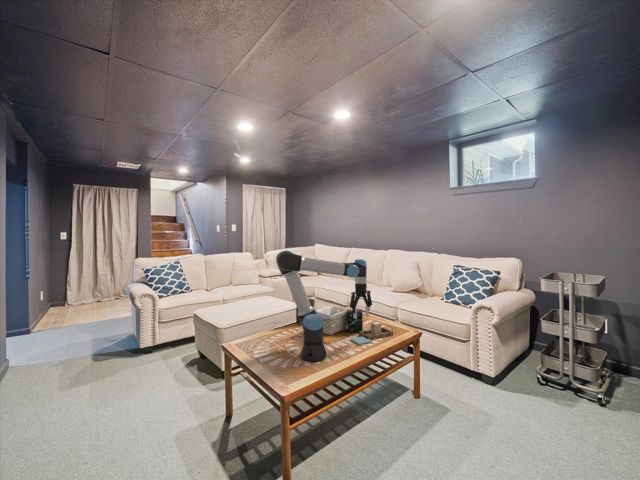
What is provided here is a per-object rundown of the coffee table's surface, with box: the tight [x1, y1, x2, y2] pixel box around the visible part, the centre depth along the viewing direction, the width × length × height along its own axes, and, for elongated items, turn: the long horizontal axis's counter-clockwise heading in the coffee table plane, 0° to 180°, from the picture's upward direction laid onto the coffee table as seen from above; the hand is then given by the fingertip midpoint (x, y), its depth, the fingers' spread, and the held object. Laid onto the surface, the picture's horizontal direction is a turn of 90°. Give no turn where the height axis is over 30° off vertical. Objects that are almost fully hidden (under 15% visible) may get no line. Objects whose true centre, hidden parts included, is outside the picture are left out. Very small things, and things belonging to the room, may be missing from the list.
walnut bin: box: [358, 327, 394, 341], centre depth 203 cm, size 21×11×2 cm, turn 117°
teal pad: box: [350, 336, 373, 346], centre depth 191 cm, size 10×10×1 cm
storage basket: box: [315, 304, 348, 336], centre depth 215 cm, size 24×16×15 cm
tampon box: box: [347, 308, 364, 333], centre depth 213 cm, size 11×9×15 cm
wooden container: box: [295, 295, 316, 325], centre depth 234 cm, size 15×15×22 cm
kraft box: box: [370, 321, 382, 335], centre depth 203 cm, size 5×5×8 cm
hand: (361, 317), depth 191 cm, fingers open, 9 cm apart
